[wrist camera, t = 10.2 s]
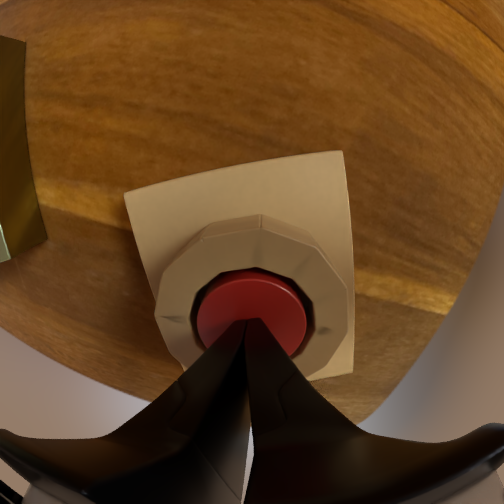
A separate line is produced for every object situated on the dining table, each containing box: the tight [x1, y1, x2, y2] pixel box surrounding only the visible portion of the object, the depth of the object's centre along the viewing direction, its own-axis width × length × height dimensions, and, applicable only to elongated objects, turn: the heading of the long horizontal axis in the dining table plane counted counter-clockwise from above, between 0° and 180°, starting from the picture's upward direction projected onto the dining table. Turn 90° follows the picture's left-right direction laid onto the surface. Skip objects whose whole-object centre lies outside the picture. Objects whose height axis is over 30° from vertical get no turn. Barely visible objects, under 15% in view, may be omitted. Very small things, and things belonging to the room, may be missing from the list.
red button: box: [197, 267, 307, 356], centre depth 10 cm, size 4×4×2 cm
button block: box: [123, 150, 355, 381], centre depth 10 cm, size 10×8×3 cm
